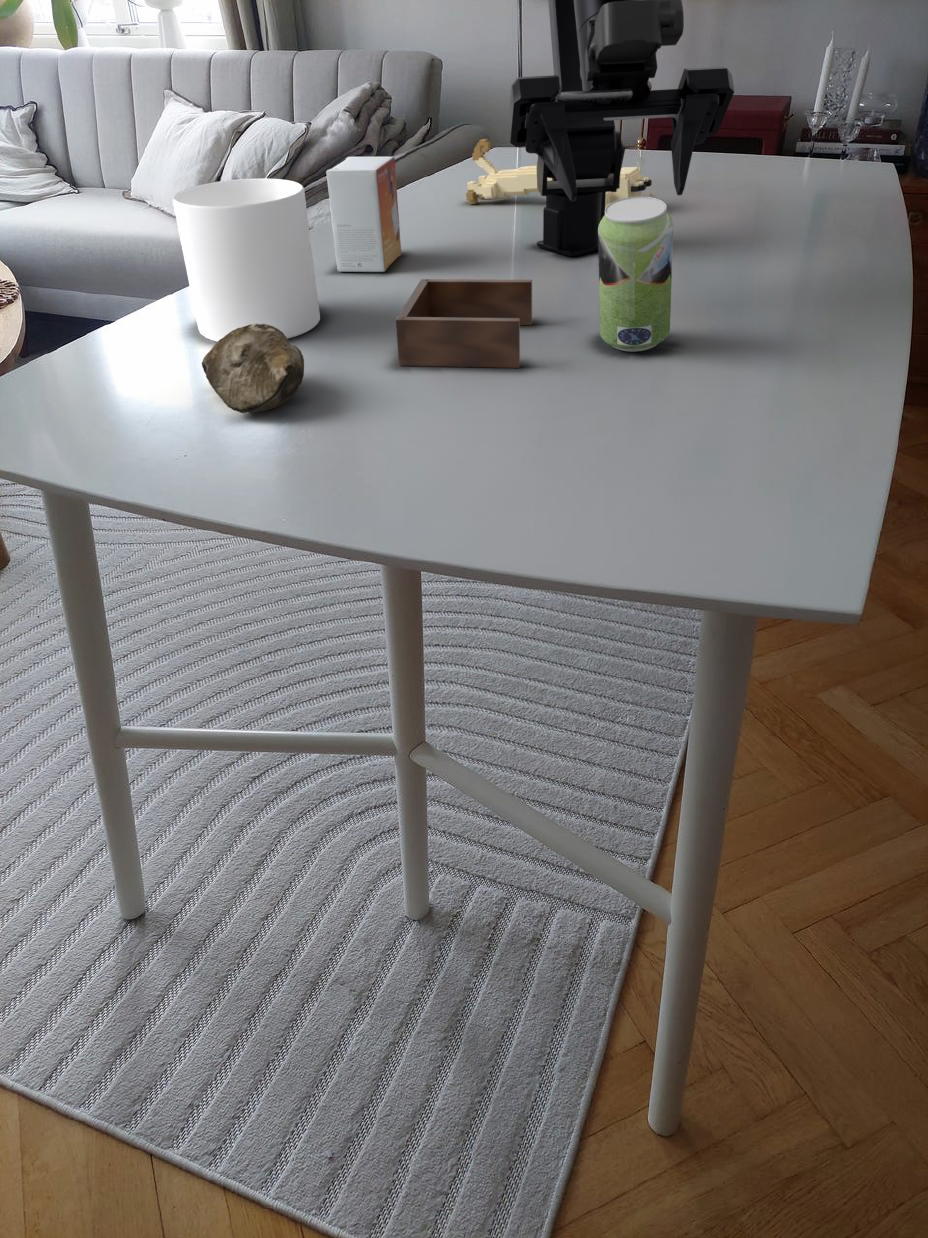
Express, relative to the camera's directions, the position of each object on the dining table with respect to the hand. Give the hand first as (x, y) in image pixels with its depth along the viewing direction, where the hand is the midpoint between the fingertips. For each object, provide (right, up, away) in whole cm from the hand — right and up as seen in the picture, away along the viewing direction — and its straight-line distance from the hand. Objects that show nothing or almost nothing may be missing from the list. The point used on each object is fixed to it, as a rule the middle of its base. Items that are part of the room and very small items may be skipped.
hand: (627, 195), depth 82 cm
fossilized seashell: (-30, -18, -4) cm, 36 cm away
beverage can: (+1, -12, +3) cm, 13 cm away
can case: (-13, -11, +5) cm, 18 cm away
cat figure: (-1, +19, +47) cm, 50 cm away
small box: (-25, +4, +28) cm, 37 cm away
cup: (-34, -8, +11) cm, 36 cm away
